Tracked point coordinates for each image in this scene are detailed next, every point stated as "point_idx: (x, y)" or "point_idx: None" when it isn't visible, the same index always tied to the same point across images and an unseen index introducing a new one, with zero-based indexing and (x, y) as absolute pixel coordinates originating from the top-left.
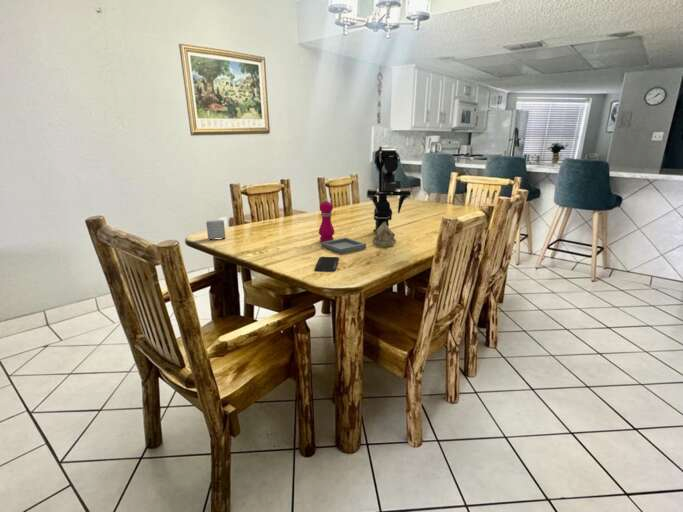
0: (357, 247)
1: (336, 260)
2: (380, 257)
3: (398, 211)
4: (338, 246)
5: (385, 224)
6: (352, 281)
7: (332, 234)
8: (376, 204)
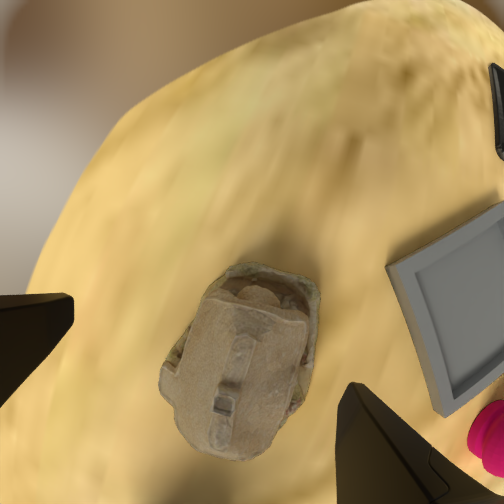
0: (438, 240)
1: (502, 127)
2: (349, 112)
3: (62, 301)
4: (495, 303)
5: (234, 364)
6: (442, 5)
7: (500, 420)
8: (424, 454)
